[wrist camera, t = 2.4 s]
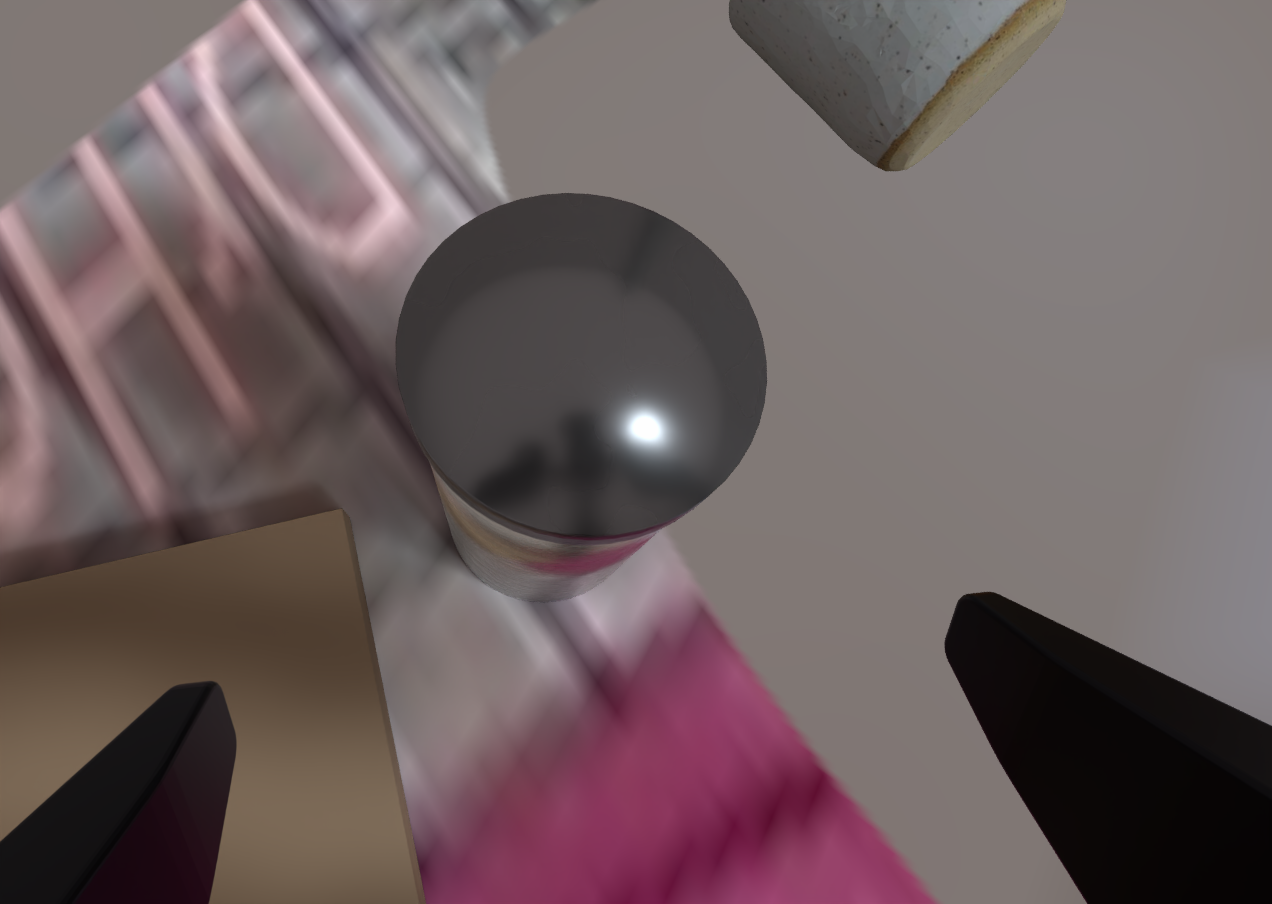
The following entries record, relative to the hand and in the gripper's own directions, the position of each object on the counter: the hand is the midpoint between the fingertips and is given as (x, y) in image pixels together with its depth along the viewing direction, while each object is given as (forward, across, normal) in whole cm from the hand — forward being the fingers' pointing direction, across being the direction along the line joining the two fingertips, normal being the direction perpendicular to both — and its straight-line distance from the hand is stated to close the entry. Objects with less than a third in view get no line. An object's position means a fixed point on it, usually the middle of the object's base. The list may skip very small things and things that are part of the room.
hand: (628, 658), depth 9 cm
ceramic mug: (+22, -13, -6) cm, 26 cm away
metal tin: (+10, 0, +4) cm, 11 cm away
